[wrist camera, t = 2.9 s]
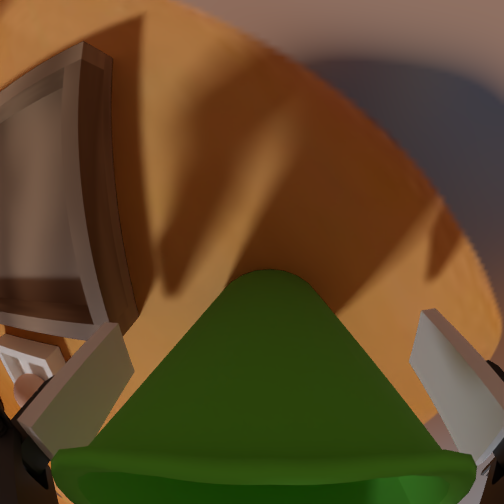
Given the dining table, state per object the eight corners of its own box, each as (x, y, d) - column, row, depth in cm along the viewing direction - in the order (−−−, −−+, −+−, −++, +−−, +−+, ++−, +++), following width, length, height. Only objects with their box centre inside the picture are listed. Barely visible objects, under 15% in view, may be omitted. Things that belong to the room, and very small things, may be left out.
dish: (39, 400, 18) (30, 410, 17) (4, 333, 16) (-7, 342, 14) (96, 420, 18) (88, 434, 16) (58, 346, 15) (45, 359, 14)
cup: (181, 214, 12) (-36, 357, 2) (376, 239, 12) (558, 400, 2) (180, 369, 15) (114, 536, 4) (333, 386, 15) (366, 556, 4)
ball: (39, 392, 17) (20, 416, 13) (22, 361, 16) (0, 384, 12) (65, 402, 17) (45, 428, 13) (47, 369, 16) (23, 396, 12)
